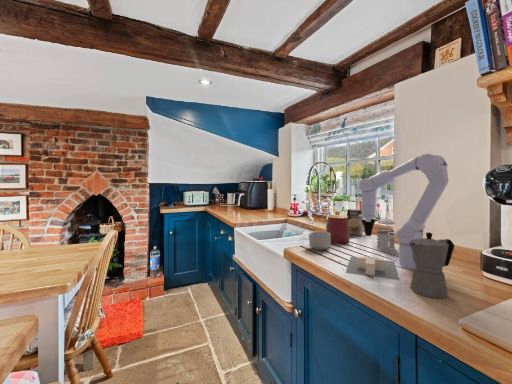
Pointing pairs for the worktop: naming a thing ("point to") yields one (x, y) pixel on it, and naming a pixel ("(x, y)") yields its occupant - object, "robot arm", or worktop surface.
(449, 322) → the worktop surface
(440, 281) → the coffeepot
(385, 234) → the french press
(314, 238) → the teacup
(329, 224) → the canister
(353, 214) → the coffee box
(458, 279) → the worktop surface
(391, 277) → the slate mat
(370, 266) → the t block
